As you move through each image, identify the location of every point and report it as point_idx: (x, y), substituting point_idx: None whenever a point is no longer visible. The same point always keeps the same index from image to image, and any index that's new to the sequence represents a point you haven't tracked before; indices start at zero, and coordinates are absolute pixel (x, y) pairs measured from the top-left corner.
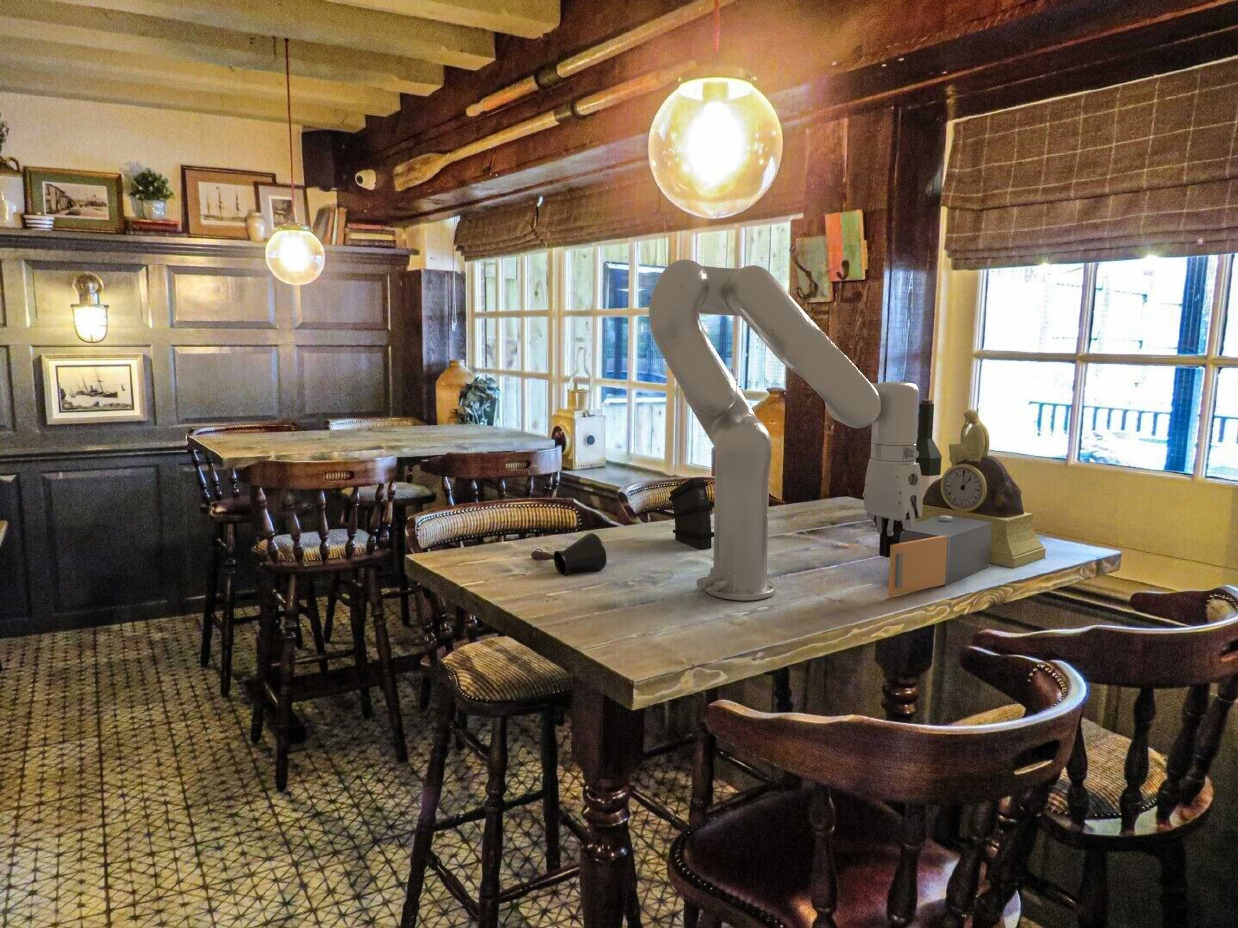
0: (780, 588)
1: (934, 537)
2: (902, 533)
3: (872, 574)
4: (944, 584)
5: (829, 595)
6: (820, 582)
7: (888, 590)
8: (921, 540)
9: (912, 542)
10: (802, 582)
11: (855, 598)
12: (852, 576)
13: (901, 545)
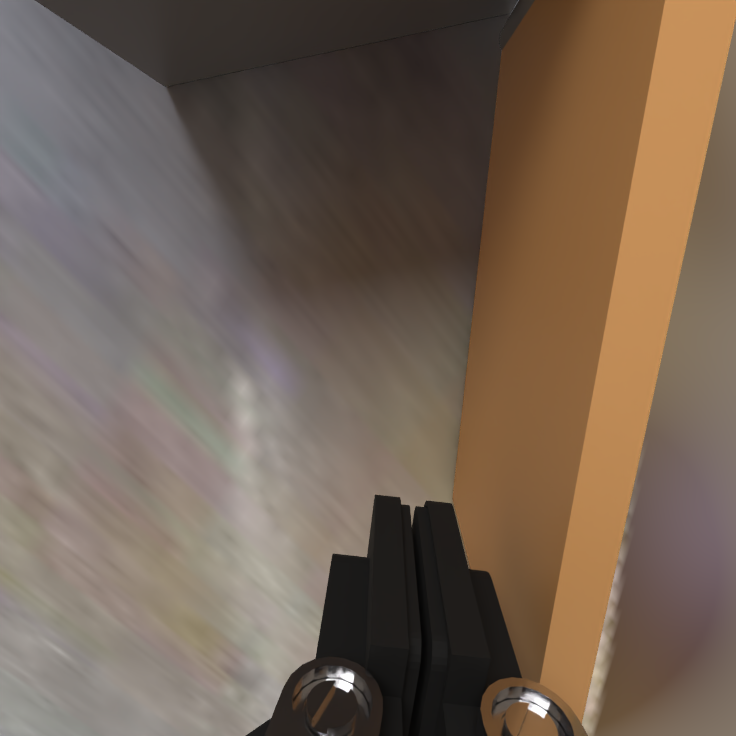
0: (99, 731)
1: (681, 59)
2: (561, 703)
3: (100, 220)
4: (499, 14)
5: (277, 656)
6: (101, 555)
7: (456, 511)
8: (640, 378)
9: (618, 542)
10: (65, 614)
11: None
12: (83, 351)
13: (584, 682)
